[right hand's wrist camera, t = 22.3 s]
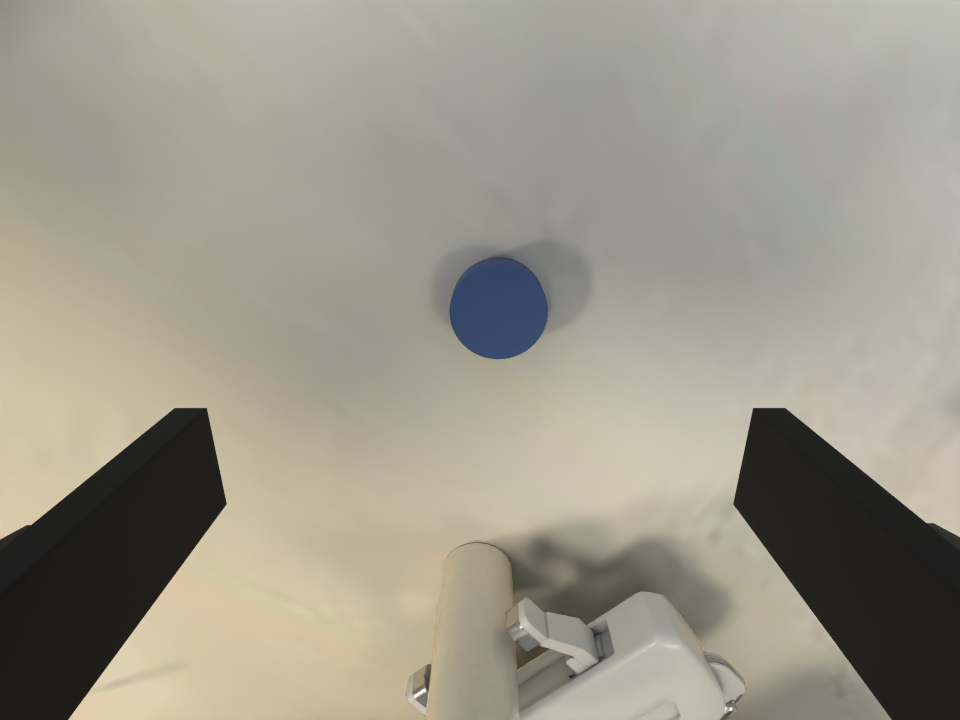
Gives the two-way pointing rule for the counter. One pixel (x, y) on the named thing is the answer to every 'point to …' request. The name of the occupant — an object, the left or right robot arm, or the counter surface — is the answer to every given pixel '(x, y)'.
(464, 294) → the lid
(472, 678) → the cream bottle
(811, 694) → the counter surface
